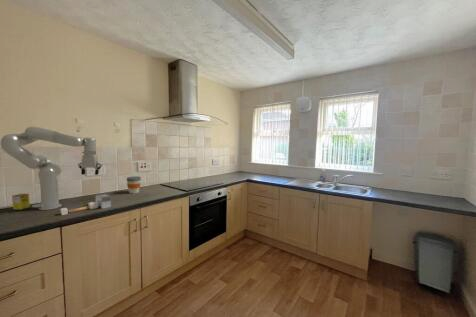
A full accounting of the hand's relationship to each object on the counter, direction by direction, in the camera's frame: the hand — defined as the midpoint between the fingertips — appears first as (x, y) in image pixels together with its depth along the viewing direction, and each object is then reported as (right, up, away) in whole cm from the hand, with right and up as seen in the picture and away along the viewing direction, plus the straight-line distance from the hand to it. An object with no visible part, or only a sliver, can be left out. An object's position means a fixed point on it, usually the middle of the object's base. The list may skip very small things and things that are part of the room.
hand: (90, 174), depth 157 cm
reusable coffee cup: (+14, -21, +41) cm, 48 cm away
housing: (+13, -24, -3) cm, 28 cm away
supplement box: (-40, -24, -14) cm, 49 cm away
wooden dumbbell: (+4, -25, -14) cm, 29 cm away
